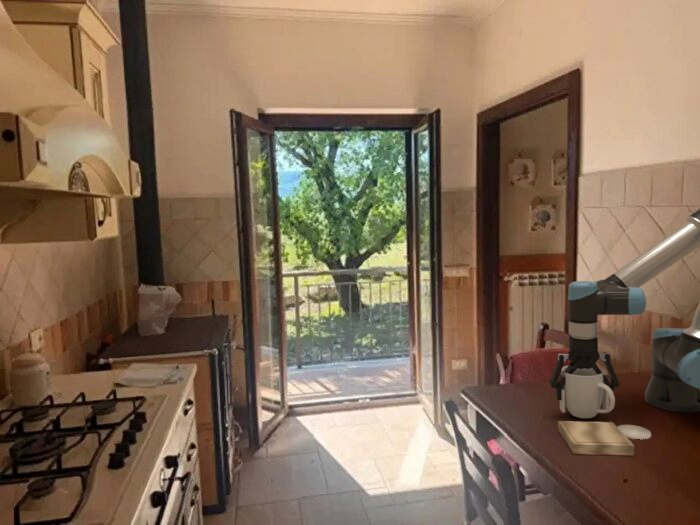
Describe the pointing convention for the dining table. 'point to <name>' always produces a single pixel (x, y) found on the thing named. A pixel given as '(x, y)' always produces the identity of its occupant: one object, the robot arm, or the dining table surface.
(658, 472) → the dining table surface
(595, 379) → the mug
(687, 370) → the robot arm
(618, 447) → the base
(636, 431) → the white oval dome
